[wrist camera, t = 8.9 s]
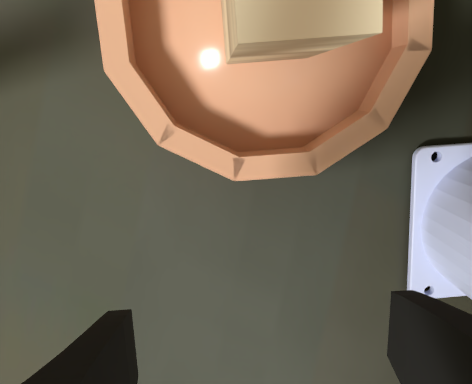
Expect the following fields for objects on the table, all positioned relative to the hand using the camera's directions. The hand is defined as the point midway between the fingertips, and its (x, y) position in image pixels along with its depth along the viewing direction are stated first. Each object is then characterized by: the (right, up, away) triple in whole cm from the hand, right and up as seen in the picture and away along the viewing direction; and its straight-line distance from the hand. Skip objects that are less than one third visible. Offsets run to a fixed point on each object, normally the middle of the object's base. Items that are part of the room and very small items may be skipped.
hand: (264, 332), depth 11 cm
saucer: (0, +11, +7) cm, 13 cm away
